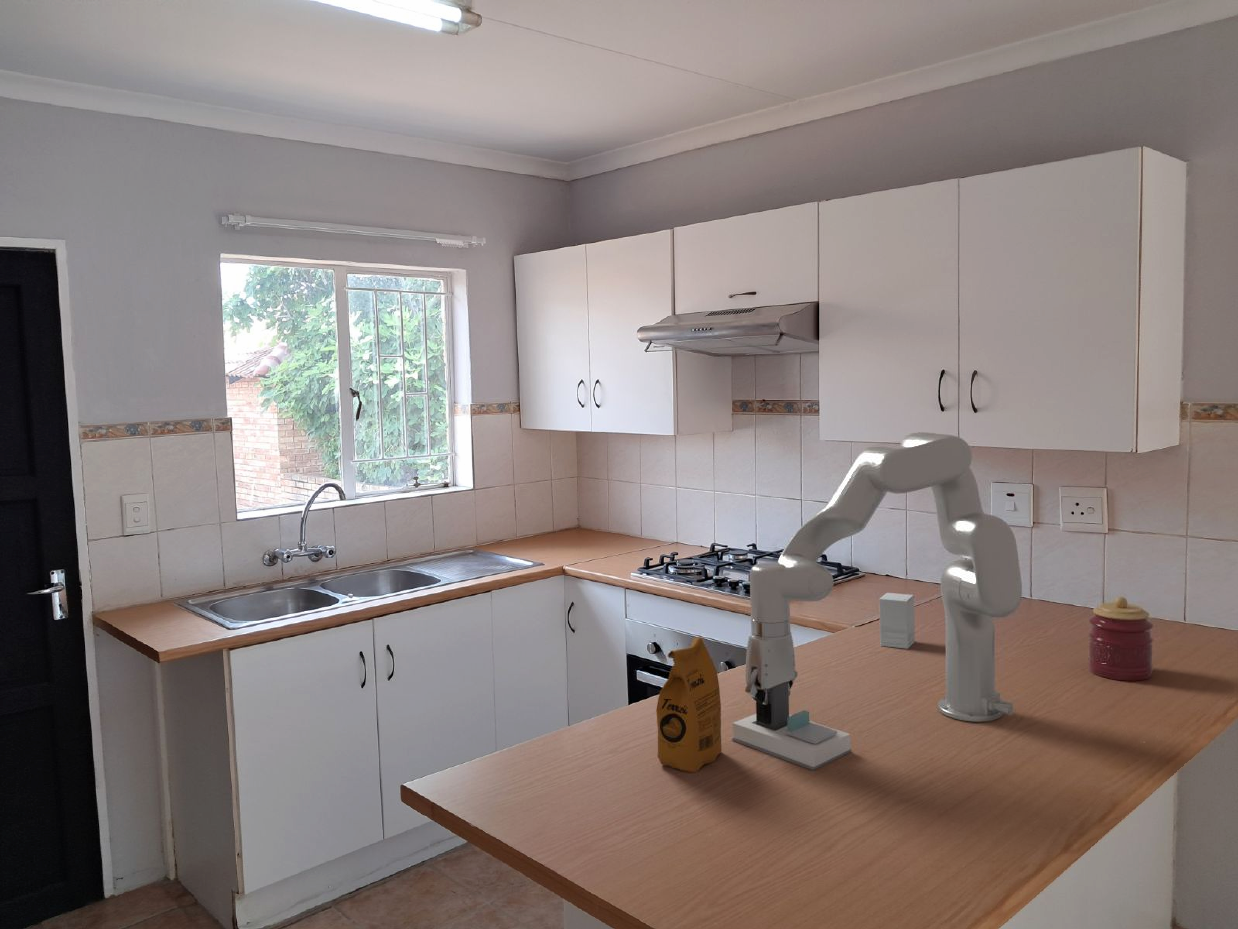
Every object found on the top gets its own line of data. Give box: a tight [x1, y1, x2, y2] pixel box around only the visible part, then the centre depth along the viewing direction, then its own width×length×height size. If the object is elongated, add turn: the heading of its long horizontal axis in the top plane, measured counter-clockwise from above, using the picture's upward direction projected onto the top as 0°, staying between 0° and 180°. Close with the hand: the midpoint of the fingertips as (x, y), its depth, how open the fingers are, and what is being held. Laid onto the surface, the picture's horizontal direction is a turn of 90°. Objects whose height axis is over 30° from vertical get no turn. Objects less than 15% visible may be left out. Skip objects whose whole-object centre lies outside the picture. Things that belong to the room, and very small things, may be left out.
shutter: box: [785, 709, 837, 744], centre depth 172 cm, size 7×7×3 cm
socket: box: [731, 713, 852, 771], centre depth 176 cm, size 20×12×4 cm, turn 41°
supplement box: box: [878, 592, 916, 650], centre depth 238 cm, size 7×7×13 cm
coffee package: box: [655, 636, 722, 773], centre depth 171 cm, size 10×12×22 cm
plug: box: [755, 682, 790, 731], centre depth 179 cm, size 4×4×12 cm
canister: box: [1087, 596, 1155, 682], centre depth 209 cm, size 13×13×18 cm
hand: (772, 717), depth 179 cm, fingers closed on plug, 4 cm apart
